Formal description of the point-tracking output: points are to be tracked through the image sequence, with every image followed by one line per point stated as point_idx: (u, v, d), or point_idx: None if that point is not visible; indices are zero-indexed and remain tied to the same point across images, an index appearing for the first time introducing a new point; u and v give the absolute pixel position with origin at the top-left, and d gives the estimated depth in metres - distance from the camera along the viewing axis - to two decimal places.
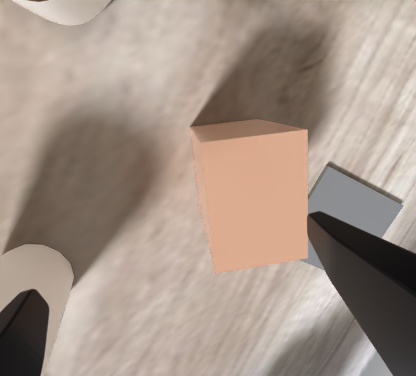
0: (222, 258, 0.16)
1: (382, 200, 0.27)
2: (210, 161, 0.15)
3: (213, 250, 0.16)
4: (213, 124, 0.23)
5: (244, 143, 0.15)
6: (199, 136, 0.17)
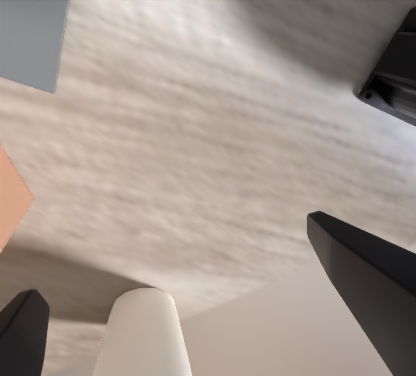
0: None
1: None
2: None
3: None
4: None
5: None
6: None
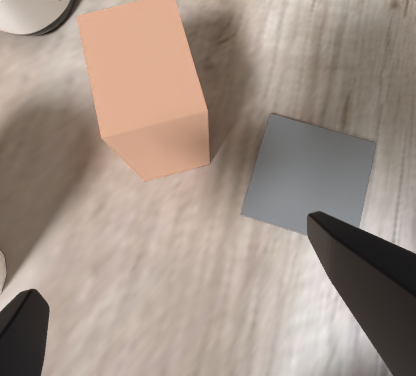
0: (107, 120, 0.15)
1: (347, 140, 0.24)
2: (86, 29, 0.16)
3: (97, 113, 0.15)
4: None
5: (116, 11, 0.16)
6: None
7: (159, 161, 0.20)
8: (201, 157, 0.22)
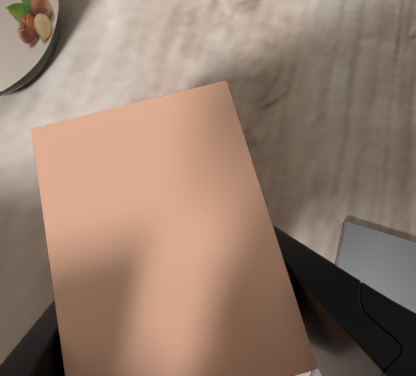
0: None
1: None
2: (50, 159, 0.08)
3: (67, 367, 0.07)
4: None
5: (112, 119, 0.08)
6: None
7: None
8: None
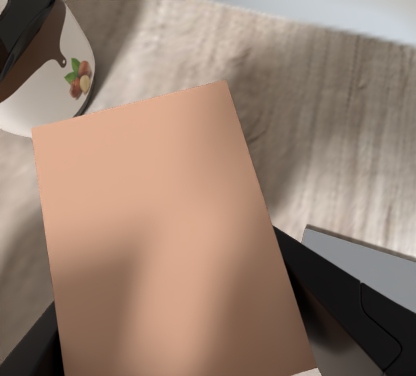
0: None
1: (391, 261, 0.22)
2: (50, 158, 0.08)
3: (66, 366, 0.07)
4: None
5: (112, 118, 0.08)
6: None
7: None
8: None
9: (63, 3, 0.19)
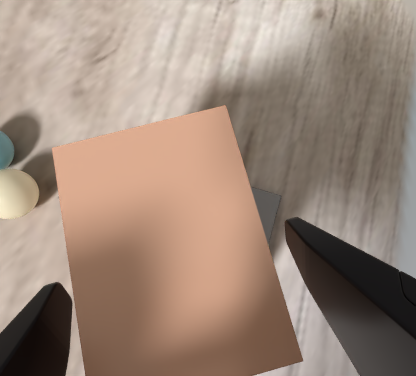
0: None
1: None
2: (69, 175, 0.09)
3: (85, 359, 0.08)
4: None
5: (124, 139, 0.09)
6: None
7: None
8: None
9: None
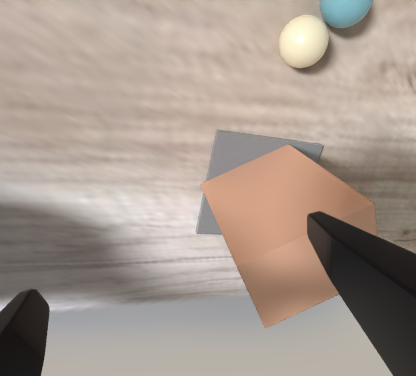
0: (255, 266, 0.15)
1: None
2: (357, 217, 0.15)
3: (263, 254, 0.14)
4: None
5: None
6: None
7: None
8: None
9: None
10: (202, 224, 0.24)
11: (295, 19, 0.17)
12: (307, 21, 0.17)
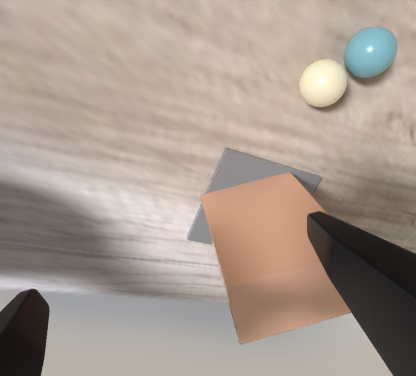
0: (243, 289, 0.16)
1: None
2: None
3: (252, 280, 0.15)
4: None
5: None
6: None
7: (213, 245, 0.21)
8: None
9: None
10: (194, 232, 0.25)
11: (319, 62, 0.18)
12: (330, 66, 0.18)
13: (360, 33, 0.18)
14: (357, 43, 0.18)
